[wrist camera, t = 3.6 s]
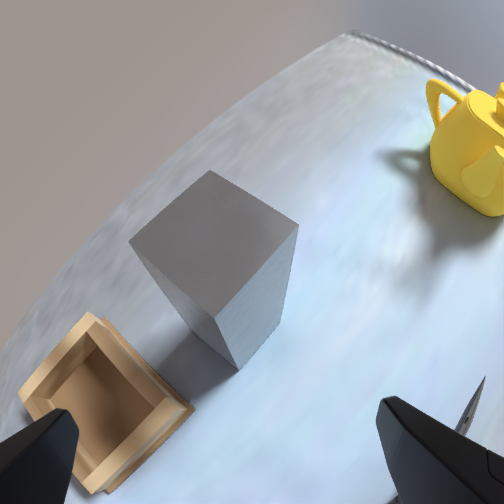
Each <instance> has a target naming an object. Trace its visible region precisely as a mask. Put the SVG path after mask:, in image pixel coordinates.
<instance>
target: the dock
mask: <svg viewBox="0 0 504 504" xmlns="http://www.w3.org/2000/svg"><path fill="white" fill-rule="evenodd" d="M18 395H19V397H20V398H21V400H22V402H23V404H24V405H25V407H26V408H27V410H28V412H29V413H30V415H31V417H32V418H33V420H34V421H36V420H38V419H40V418H41V417H43V416H44V415H46V414H47V413H49V412H51V411H52V410H54V409H55V408H61V409H67V410H68V411H69V412H70V413H71V415H72V417H73V419H74V420H75V422H76V424H77V426H78V428H79V439H78V444H77V449H76V455H75V460H74V466H73V471H72V473H73V474H74V475H75V476H76V478H77V479H78V480H79V481H80V482H81V483H82V484H83V486H84V487H85V488H86V489H87V490H88V491H89V492H90V493H91V494H94V493H97V492H100V491H103V490H106V491H107V492H108V493H111V492H113V491H114V490H115V489H116V488H117V487H119V486H120V485H121V484H122V483H123V482H124V481H125V480H126V479H127V478H128V477H129V476H130V475H131V474H132V473H133V472H135V471H136V470H137V469H138V468H139V467H140V466H141V465H142V464H143V463H144V462H145V461H146V460H147V459H148V458H149V457H150V456H151V455H152V454H153V453H154V452H155V451H156V450H157V449H158V448H159V447H160V446H161V445H162V444H163V443H164V442H165V441H166V440H167V439H168V438H169V437H170V436H171V435H172V434H173V433H174V432H175V431H176V430H177V429H178V428H179V427H180V426H181V425H182V424H183V423H184V422H185V420H186V419H187V418H188V417H189V416H190V415H191V414H192V413H193V412H194V411H195V410H196V409H195V408H194V407H193V406H191V405H190V404H189V403H188V402H187V401H186V400H185V399H184V398H183V397H182V396H180V395H179V394H178V393H177V392H176V391H175V390H174V389H173V388H172V387H171V386H170V385H169V384H168V383H167V382H166V381H165V380H164V379H163V378H161V377H160V376H159V375H158V374H157V373H156V372H155V371H154V370H153V369H152V368H151V367H150V366H149V365H148V363H147V362H146V361H145V360H144V359H143V358H142V357H141V356H140V355H139V354H138V353H137V352H136V351H135V350H134V349H133V348H132V347H131V346H130V344H129V343H128V342H127V341H126V340H125V339H124V338H123V337H122V336H121V335H120V333H119V332H118V331H117V330H116V329H115V328H114V327H113V325H112V324H111V323H110V322H109V321H108V320H107V319H106V318H105V317H104V318H103V319H102V320H100V319H98V318H97V317H95V316H94V315H93V314H91V313H90V312H87V313H86V314H85V315H84V316H83V317H82V318H81V319H80V321H79V322H78V323H77V324H76V325H75V326H74V327H73V328H72V329H71V330H70V332H69V333H68V334H67V335H66V336H65V337H64V338H63V339H62V340H61V342H60V343H59V344H58V345H57V346H56V347H55V348H54V350H53V351H52V352H51V353H50V354H49V355H48V356H47V358H46V359H45V360H44V361H43V362H42V363H41V365H40V366H39V367H38V368H37V369H36V371H35V372H34V373H33V374H32V375H31V377H30V378H29V379H28V380H27V381H26V383H25V384H24V385H23V386H22V388H21V389H20V390H19V391H18Z"/></svg>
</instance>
